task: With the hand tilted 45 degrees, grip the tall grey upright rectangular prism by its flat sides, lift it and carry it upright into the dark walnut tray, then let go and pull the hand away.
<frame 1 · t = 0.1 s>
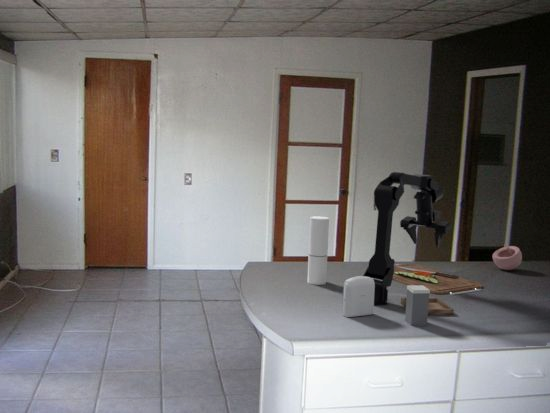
hand: (426, 245, 213), 15 cm above the counter, tool pointing down, fingers open, 9 cm apart
grey upright rectangular prism: (415, 322, 170), on the counter
chopping board: (422, 280, 225), on the counter
walnut tray: (426, 308, 184), on the counter
white tombstone-shaped block: (357, 315, 176), on the counter
cylindrical container: (316, 282, 213), on the counter
pink round bowl: (505, 270, 246), on the counter
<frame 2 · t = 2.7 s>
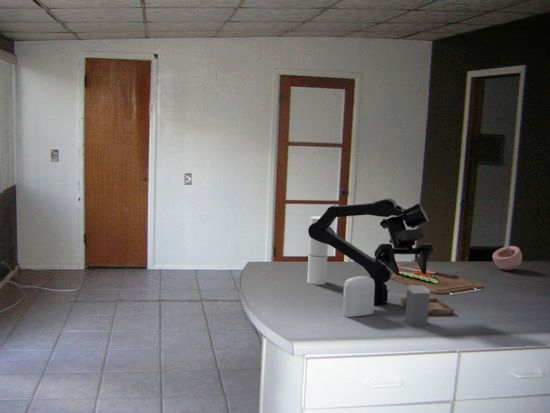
hand: (411, 274, 174), 14 cm above the counter, tool tilted 45°, fingers open, 9 cm apart
nothing on the counter moved.
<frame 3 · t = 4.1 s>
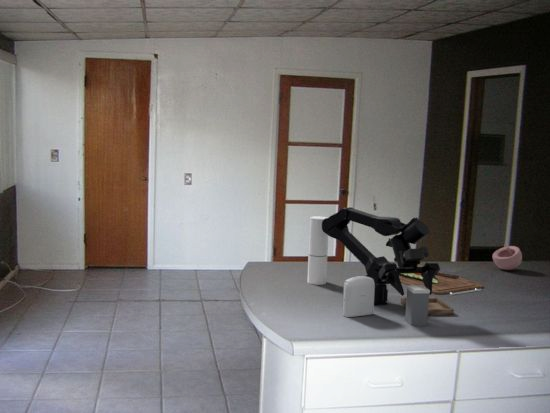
hand: (417, 294, 170), 9 cm above the counter, tool tilted 45°, fingers open, 9 cm apart
nothing on the counter moved.
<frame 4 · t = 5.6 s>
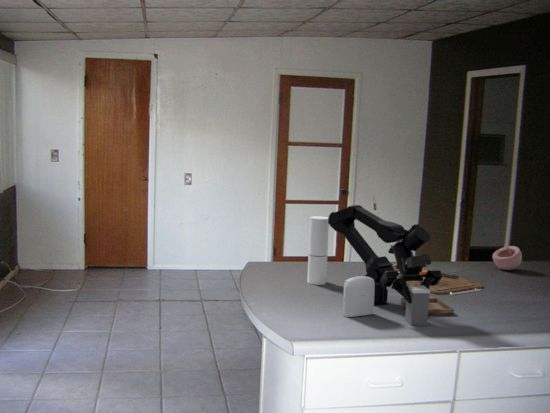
hand: (418, 302, 168), 7 cm above the counter, tool tilted 45°, fingers closed on grey upright rectangular prism, 5 cm apart
grey upright rectangular prism: (415, 322, 170), on the counter, touching gripper
everything else where it was.
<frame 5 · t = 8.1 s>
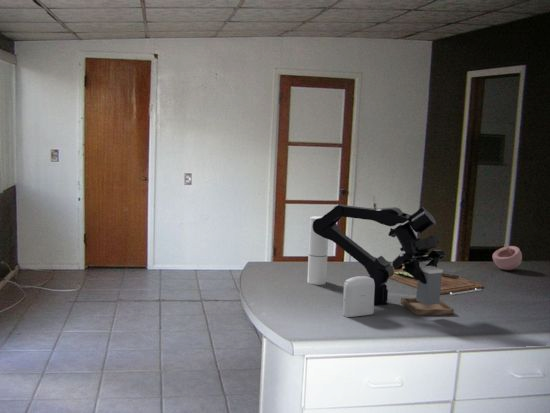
hand: (431, 282, 173), 11 cm above the counter, tool tilted 45°, fingers closed on grey upright rectangular prism, 5 cm apart
grey upright rectangular prism: (427, 302, 175), point 5 cm above the counter, touching gripper
everything else where it was.
when the fingers open (9 cm above the counter, at t = 10.4 s): grey upright rectangular prism drops 1 cm, resting on walnut tray.
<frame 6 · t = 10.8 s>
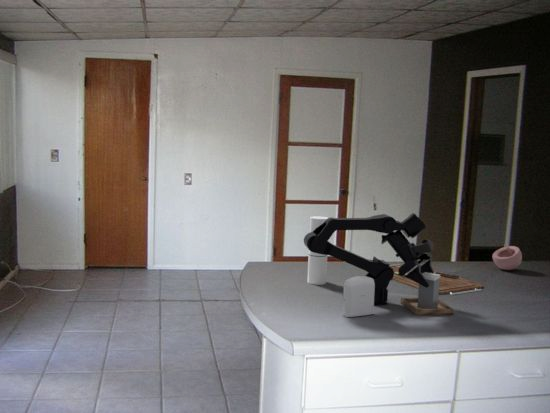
hand: (432, 284, 183), 9 cm above the counter, tool tilted 45°, fingers open, 9 cm apart
grey upright rectangular prism: (427, 307, 184), point 1 cm above the counter, touching walnut tray
everything else where it was.
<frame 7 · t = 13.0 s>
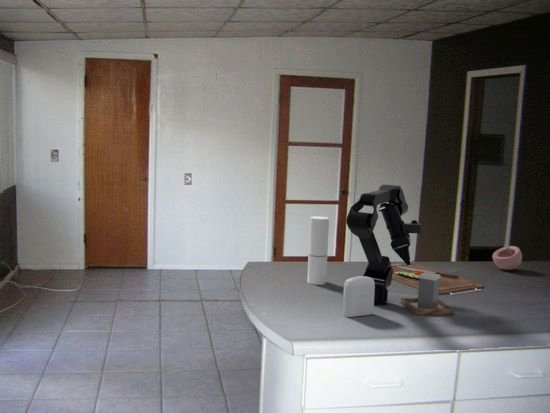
hand: (409, 262, 193), 13 cm above the counter, tool tilted 25°, fingers open, 9 cm apart
nothing on the counter moved.
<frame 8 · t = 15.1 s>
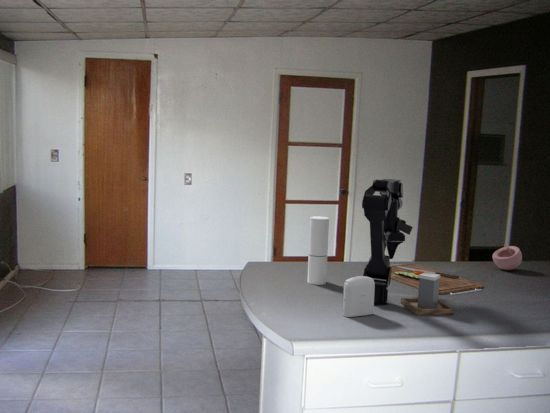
hand: (386, 256, 203), 13 cm above the counter, tool pointing down, fingers open, 9 cm apart
nothing on the counter moved.
at the end: grey upright rectangular prism inside the target area on the walnut tray (0.4 cm from its centre), point 0.6 cm above the walnut tray's base; grey upright rectangular prism tilted 0°; the gripper is holding nothing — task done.
